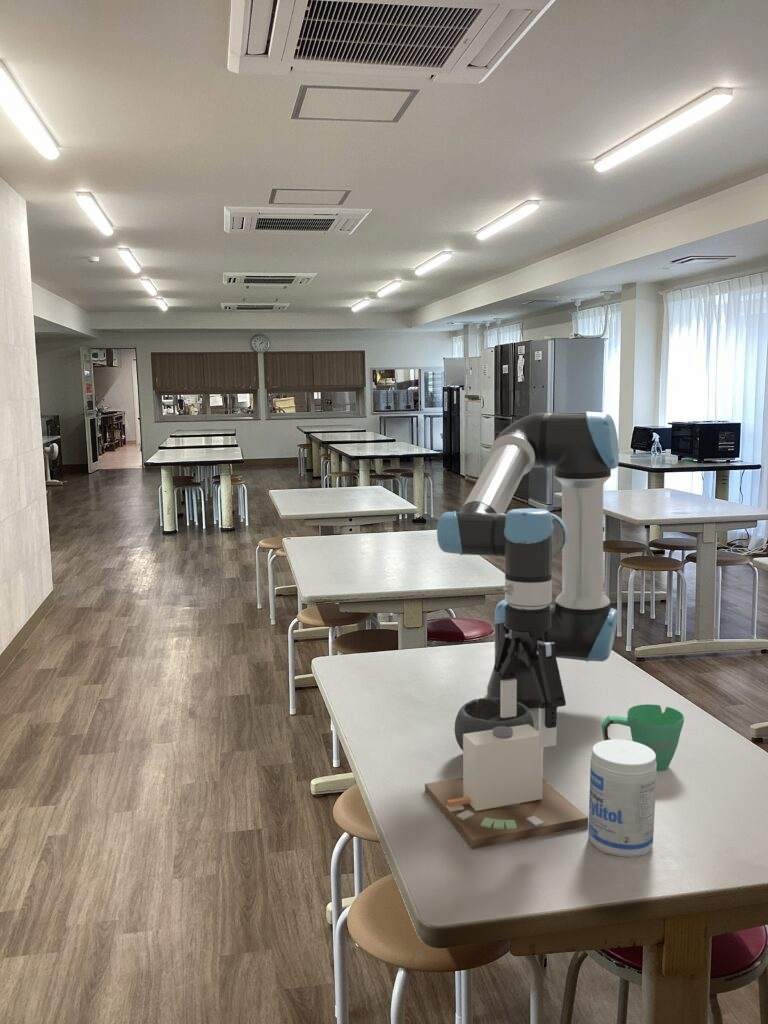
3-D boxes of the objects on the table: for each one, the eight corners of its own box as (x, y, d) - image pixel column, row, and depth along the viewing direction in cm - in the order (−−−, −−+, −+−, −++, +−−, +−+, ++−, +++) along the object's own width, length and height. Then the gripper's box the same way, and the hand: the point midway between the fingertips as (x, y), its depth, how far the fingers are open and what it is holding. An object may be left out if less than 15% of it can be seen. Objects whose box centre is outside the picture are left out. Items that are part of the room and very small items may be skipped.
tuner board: (528, 774, 150) (528, 765, 150) (588, 826, 131) (588, 816, 131) (425, 791, 144) (424, 782, 144) (472, 849, 125) (472, 838, 125)
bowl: (440, 751, 161) (440, 702, 159) (507, 738, 166) (507, 690, 165) (479, 783, 147) (478, 729, 146) (549, 767, 153) (550, 715, 152)
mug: (672, 754, 157) (673, 703, 156) (690, 777, 148) (691, 723, 146) (594, 755, 158) (595, 704, 157) (607, 778, 148) (608, 724, 147)
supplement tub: (577, 845, 126) (578, 752, 124) (605, 821, 133) (606, 733, 131) (638, 867, 119) (640, 770, 118) (664, 840, 127) (666, 748, 125)
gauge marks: (514, 795, 139) (514, 793, 139) (544, 824, 129) (544, 822, 129) (446, 807, 135) (446, 805, 135) (473, 838, 125) (473, 836, 125)
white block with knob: (528, 785, 142) (528, 719, 140) (542, 798, 137) (542, 730, 135) (442, 800, 137) (441, 732, 135) (453, 814, 132) (453, 744, 131)
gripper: (475, 591, 145) (475, 708, 148) (545, 624, 122) (543, 762, 124) (513, 587, 148) (513, 703, 150) (590, 619, 124) (587, 755, 126)
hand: (527, 730), depth 137 cm, fingers open, 13 cm apart
